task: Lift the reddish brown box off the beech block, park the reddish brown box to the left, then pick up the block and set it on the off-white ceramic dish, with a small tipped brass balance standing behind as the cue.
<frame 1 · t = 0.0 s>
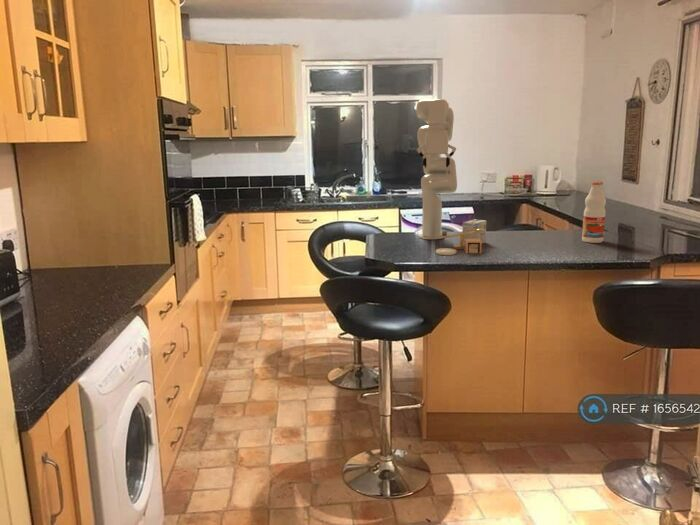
hand: (436, 167, 260), 37 cm above the countertop, tool pointing down, fingers open, 9 cm apart
dish: (445, 253, 256), on the countertop
fruit juice: (592, 241, 275), on the countertop
balance: (461, 247, 267), on the countertop
block: (472, 252, 258), on the countertop
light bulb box: (473, 243, 276), on the countertop
reddish brown box: (472, 252, 257), on the countertop
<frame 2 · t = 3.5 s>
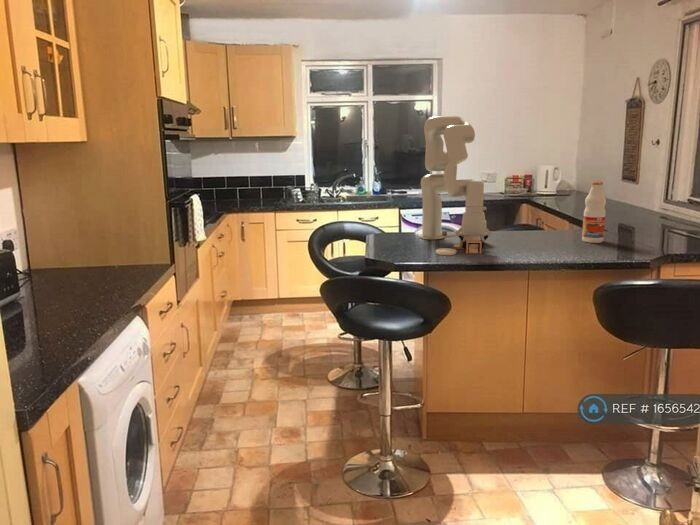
hand: (472, 249, 257), 1 cm above the countertop, tool pointing down, fingers closed on reddish brown box, 6 cm apart
reddish brown box: (472, 252, 257), on the countertop, touching gripper
everything else where it was.
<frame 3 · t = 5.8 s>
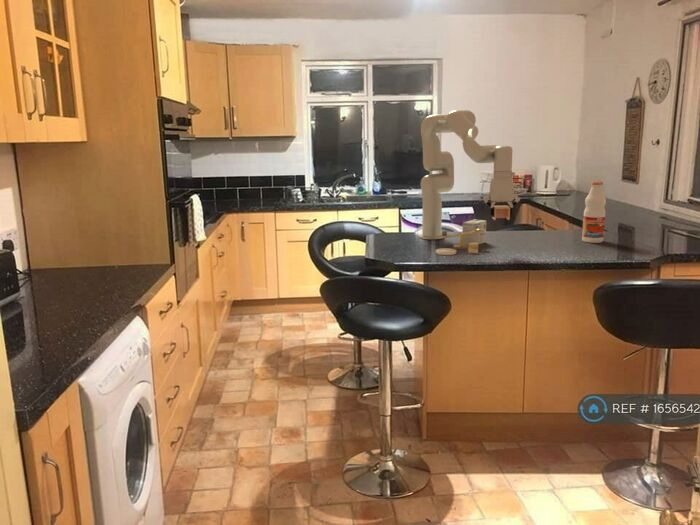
hand: (500, 216, 253), 16 cm above the countertop, tool pointing down, fingers closed on reddish brown box, 6 cm apart
reddish brown box: (500, 218, 253), point 15 cm above the countertop, touching gripper
everything else where it was.
when the fingers open (2 cm above the countertop, at t = 8.4 s): reddish brown box stays where it is, on the countertop.
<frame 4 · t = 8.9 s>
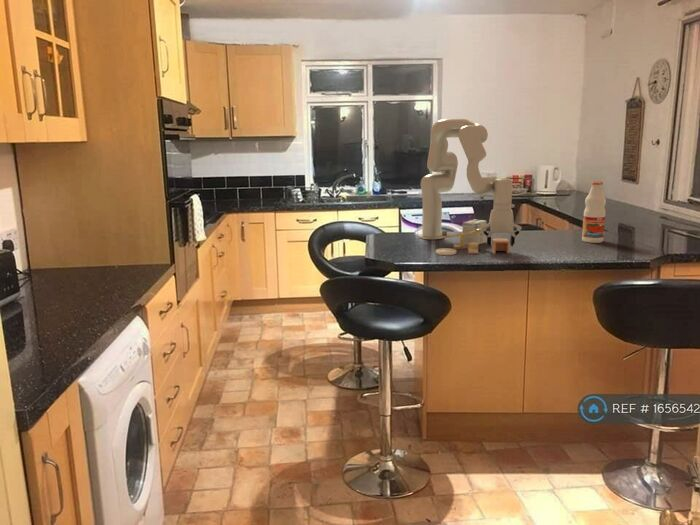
hand: (500, 245, 256), 3 cm above the countertop, tool pointing down, fingers open, 9 cm apart
reddish brown box: (500, 251, 257), on the countertop
everything else where it was.
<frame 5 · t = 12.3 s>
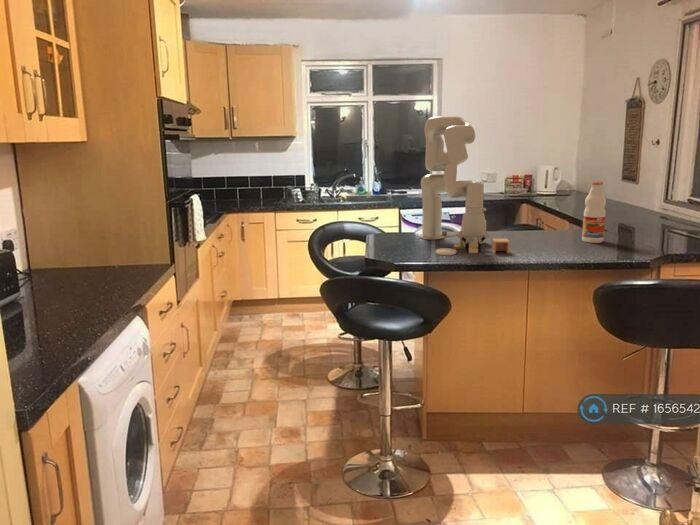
hand: (472, 251, 257), 0 cm above the countertop, tool pointing down, fingers closed on block, 3 cm apart
block: (472, 251, 258), on the countertop, touching gripper
everything else where it was.
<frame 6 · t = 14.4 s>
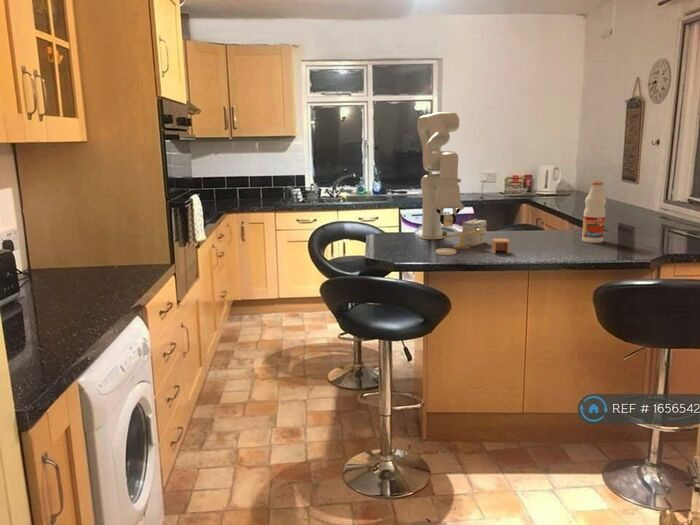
hand: (447, 223, 253), 13 cm above the countertop, tool pointing down, fingers closed on block, 4 cm apart
block: (447, 224, 255), point 12 cm above the countertop, tilted 10°, touching gripper
everything else where it was.
when the fingers open (2 cm above the countertop, at t = 16.5 s): block stays where it is, resting on dish.
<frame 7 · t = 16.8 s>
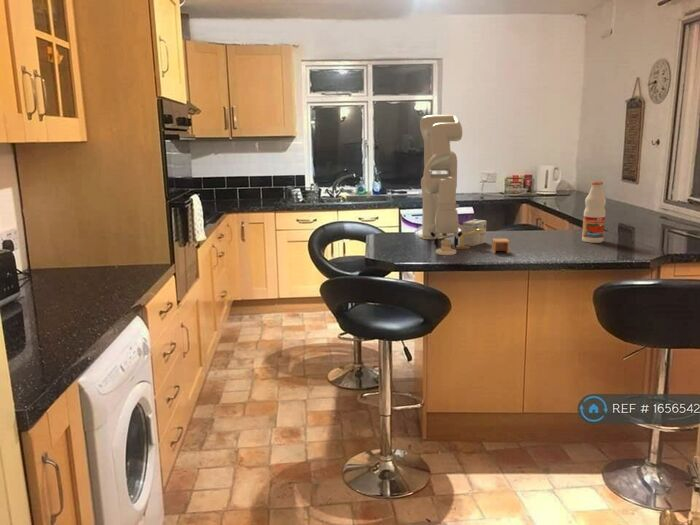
hand: (446, 246, 256), 3 cm above the countertop, tool pointing down, fingers open, 7 cm apart
block: (445, 249, 257), point 1 cm above the countertop, touching dish
everything else where it was.
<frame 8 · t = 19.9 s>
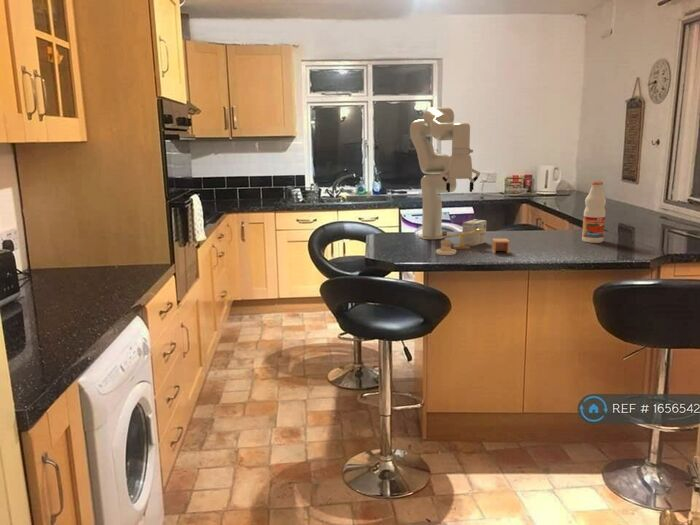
hand: (459, 191, 256), 26 cm above the countertop, tool pointing down, fingers open, 9 cm apart
nothing on the countertop moved.
at the end: block inside the target area on the dish (0.9 cm from its centre), point 1.2 cm above the dish's base; reddish brown box moved 11.9 cm from its start; the gripper is holding nothing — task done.
